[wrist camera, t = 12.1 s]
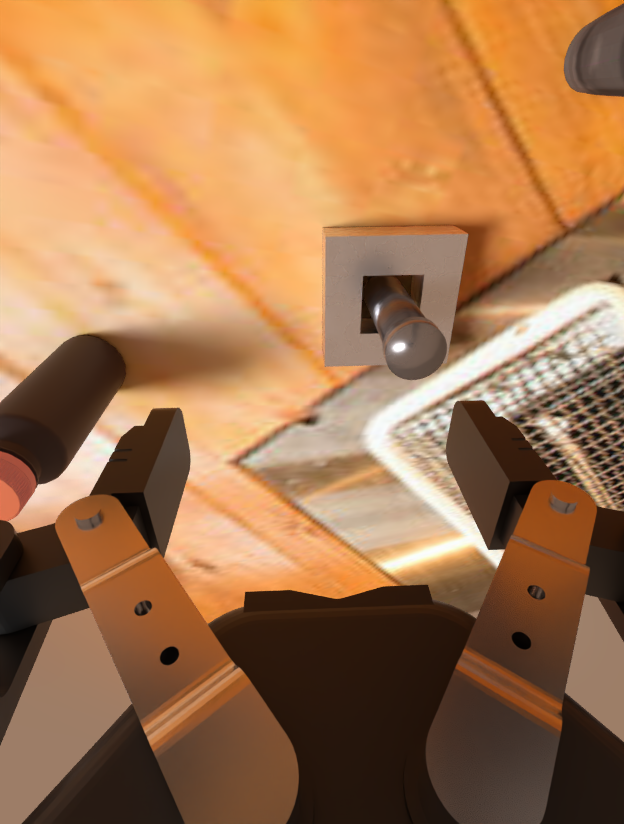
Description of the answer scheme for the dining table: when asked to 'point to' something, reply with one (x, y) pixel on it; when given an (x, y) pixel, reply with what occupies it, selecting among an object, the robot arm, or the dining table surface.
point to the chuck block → (386, 255)
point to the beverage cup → (598, 56)
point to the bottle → (53, 416)
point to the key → (403, 329)
